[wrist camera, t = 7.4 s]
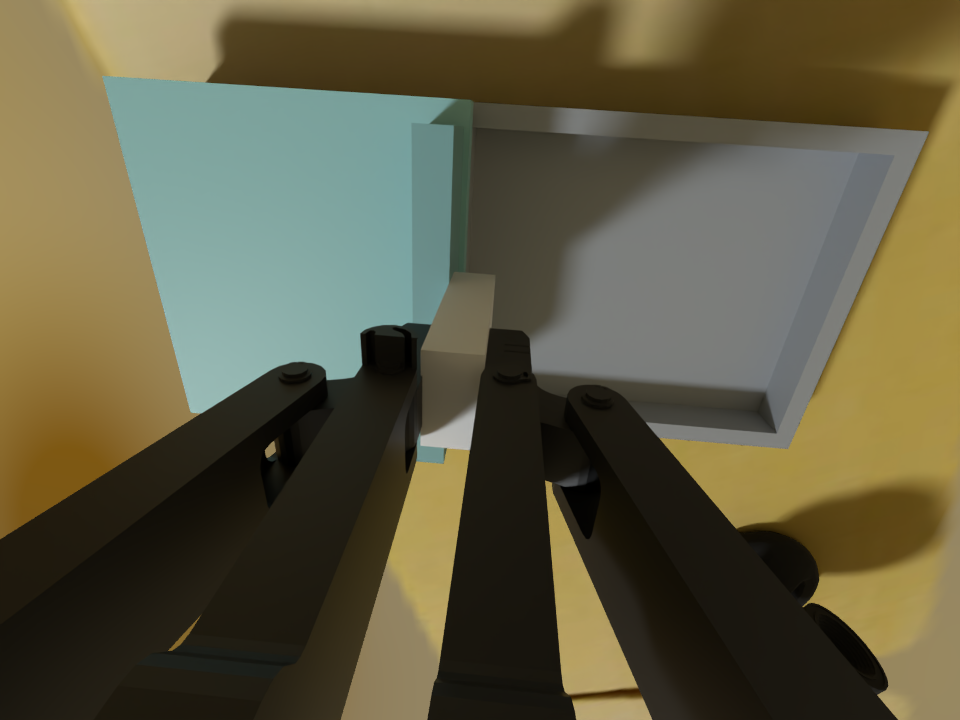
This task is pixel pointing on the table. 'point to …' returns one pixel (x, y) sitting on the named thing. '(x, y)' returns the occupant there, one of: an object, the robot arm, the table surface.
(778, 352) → the tray
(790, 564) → the webcam
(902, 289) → the table surface
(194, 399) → the lid
